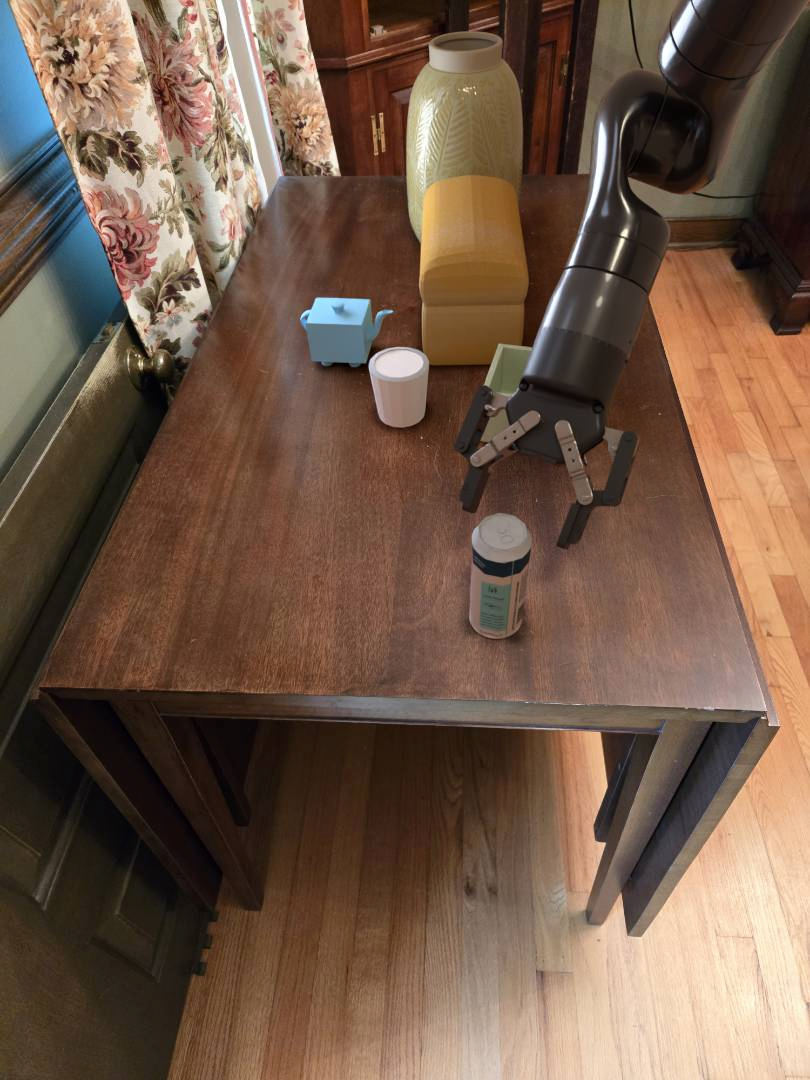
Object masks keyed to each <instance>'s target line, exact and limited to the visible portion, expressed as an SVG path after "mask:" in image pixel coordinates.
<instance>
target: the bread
mask: <svg viewBox="0 0 810 1080" xmlns="http://www.w3.org/2000/svg"><path fill="white" fill-rule="evenodd" d="M529 277H530V276H529V271H528V264H527V256H526V250H525V243H524V236H523V230H522V222H521V217H520V208H519V209H518V203H517V196H516V192H515V189H514V188H513V186H512V185H511V184H510V183H509V182H507V181H506V180H503V179H500V178H495V177H487V176H480V175H466V176H458V177H453V178H448V179H444V180H440V181H438V182H435V183H434V184H432V185H431V186H430V187H429V188H428V190H427V191H426V193H425V196H424V201H423V219H422V239H421V244H420V263H419V281H418V282H419V283H418V287H419V295H420V298H421V301H422V303H421V305H422V306H421V341H422V353H423V354H425V355H426V356H427V358H428V361H429V366H480V365H481V366H482V365H483V366H484V365H491V364H492V361H493V358H494V356H495V353H496V350H497V348H498V345H499V343H500V344H508V345H516V346H523V338H524V326H525V300H526V297H527V294H528V290H529V285H530V283H529V282H530V281H529Z"/></svg>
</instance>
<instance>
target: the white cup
mask: <svg viewBox="0 0 810 1080" xmlns="http://www.w3.org/2000/svg"><path fill="white" fill-rule="evenodd" d="M429 368H430V365H429V361H428V358H427V356H426V355H425V354H424V353H423V351H421V350H419V349H417V348H413V347H410V346H395V347H388V348H385V349H382V350H380V351H378V352H377V353H375V354H374V355H373V356H372V357H371V358H370V360H369V362H368V370H369V376H370V380H371V385H372V391H373V394H374V399H375V404H376V405H375V406H376V410H377V415H378V417H379V420H380V421H381V422H382V423H384V424H385V425H387V426H389V427H392V428H407V427H412V426H414V425H416V424H419V423H420V422H421V421H422V419H424V417H425V413H426V404H427V396H428V395H427V393H428V381H429Z"/></svg>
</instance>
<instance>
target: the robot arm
mask: <svg viewBox="0 0 810 1080" xmlns="http://www.w3.org/2000/svg"><path fill="white" fill-rule="evenodd" d="M809 2H810V0H677V2H676V3H675V5H674V8H673V10H672V12H671V14H670V16H669V18H668V19H667V22H666V23H665V26H664V28H663V31H662V33H661V35H660V39H659V42H658V47H657V64H658V69H659V71H660V73H659V72H656V71H654V70H651V69H647V68H640V67H639V68H632V69H629V70H627V71H625V72H624V73H621V74H620V75H619V76H618V77H617V78H616V79H614V80H613V81H612V82H611V84H610V85H609V86H608V87H607V89H606V90H605V92H604V93H603V95H602V97H601V99H600V101H599V103H598V106H597V109H596V112H595V115H594V116H595V117H594V119H593V120H594V121H593V126H592V134H591V143H590V145H591V146H590V158H589V159H590V160H589V172H588V173H589V175H588V182H587V183H588V184H587V190H586V197H585V203H584V208H583V212H582V216H581V219H580V223H579V227H578V230H577V233H576V235H575V239H574V241H573V244H572V247H571V250H570V252H569V255H568V258H567V260H566V263H565V266H564V269H563V271H562V274H561V276H560V278H559V280H558V282H557V284H556V285H555V288H554V290H553V291H552V293H551V296H550V298H549V301H548V304H547V306H546V309H545V312H544V314H543V316H542V319H541V322H540V325H539V328H538V331H537V333H536V336H535V339H534V342H533V344H532V350H531V353H530V355H529V358H528V361H527V364H526V366H525V369H524V372H523V375H522V377H521V380H520V383H519V386H518V388H517V390H516V391H515V393H514V394H513V395H512V396H511V397H507V396H505V395H502V394H500V393H497V392H495V391H493V390H492V389H491V388H489V387H488V386H486V385H484V384H482V385H480V386H478V388H477V389H476V391H475V394H474V396H473V399H472V401H471V402H470V405H469V408H468V410H467V412H466V415H465V418H464V420H463V422H462V424H461V427H460V430H459V431H458V434H457V436H456V438H455V441H454V444H453V448H454V450H455V452H457V453H458V454H460V455H461V456H462V457H463V458H464V459H465V460H466V461H467V463H468V469H467V473H466V476H465V478H464V481H463V484H462V487H461V490H460V491H459V496H458V497H459V499H458V500H459V502H460V503H462V506H461V510H462V511H464V512H466V513H469V514H476V513H477V511H478V509H479V506H480V503H481V501H482V498H483V495H484V492H485V490H486V487H487V484H488V482H489V479H490V476H491V472H488V471H489V470H490V469H491V468H493V467H494V466H495V465H496V464H498V463H500V462H501V461H503V460H504V459H505V458H508V457H510V456H512V455H514V454H515V453H516V452H518V451H519V453H520V454H522V455H524V456H526V457H530V458H533V459H540V460H541V459H542V460H544V461H545V462H547V463H549V464H551V465H553V466H557V467H559V468H561V467H565V466H566V469H567V473H568V475H569V478H570V480H571V482H572V486H573V489H574V492H575V495H576V497H577V498H576V501H575V502H571V504H570V507H569V510H568V513H567V515H566V517H565V520H564V523H563V525H562V527H561V531H560V533H559V536H558V539H557V541H556V545H555V546H556V548H560V549H563V550H569V549H570V546H571V545H576V546H577V545H578V544H579V542H580V541H581V540H582V537H583V535H584V532H585V530H586V527H587V524H588V522H589V520H590V516H591V514H592V512H593V510H595V509H596V508H599V507H613V508H615V507H619V506H620V505H621V503H622V501H623V498H624V495H625V492H626V488H627V485H628V482H629V479H630V476H631V472H632V469H633V467H634V463H635V460H636V458H637V455H638V451H639V449H640V444H641V439H640V437H639V435H638V434H637V433H636V432H635V431H634V430H631V429H629V430H628V429H627V430H620V429H615V428H611V427H608V425H607V418H608V414H609V412H610V409H611V406H612V405H613V404H612V403H613V401H614V398H615V395H616V393H617V390H618V388H619V385H620V382H621V380H622V377H623V374H624V372H625V369H626V368H627V364H628V362H629V359H630V357H631V355H632V354H633V352H634V349H635V347H636V344H637V338H638V335H639V333H640V330H641V326H642V324H643V319H644V316H645V315H644V314H645V310H646V307H647V303H648V300H649V297H650V294H651V292H652V290H653V287H654V284H655V281H656V279H657V276H658V274H659V271H660V269H661V266H662V264H663V261H664V258H665V255H666V252H667V250H668V247H669V244H670V240H671V233H672V232H671V226H670V224H669V223H668V221H667V219H666V218H665V217H664V216H663V215H662V214H661V213H659V212H658V211H657V210H656V209H654V208H653V207H652V206H650V205H649V204H648V203H646V202H645V201H644V200H642V199H641V198H639V197H638V195H636V193H635V192H634V191H633V189H632V188H631V185H630V181H629V179H632V180H635V181H637V182H640V183H643V184H646V185H648V186H651V187H653V188H656V189H659V190H662V191H665V192H667V193H670V194H674V195H681V196H686V195H690V194H693V193H697V192H699V191H700V190H702V189H704V188H705V187H707V186H708V185H710V183H712V182H713V181H714V180H715V178H716V177H717V176H718V174H719V173H720V172H721V170H722V169H723V166H724V165H725V162H726V160H727V157H728V154H729V153H730V150H731V147H732V144H733V141H734V137H735V134H736V130H737V127H738V123H739V120H740V116H741V113H742V111H743V108H744V106H745V104H746V101H747V99H748V97H749V95H750V93H751V91H752V88H753V87H754V85H755V83H756V81H757V79H758V78H759V76H760V74H761V73H762V71H763V69H764V67H766V65H767V63H768V62H769V61H770V60H771V58H772V56H773V55H774V54H775V52H776V51H777V50H778V48H779V46H780V45H781V44H782V42H783V41H784V40H785V38H786V37H787V35H788V33H789V32H790V31H791V29H792V28H793V26H794V25H795V24H796V23H797V21H798V19H799V18H800V17H801V15H802V13H803V12H804V10H805V9H806V7H807V5H808V4H809ZM503 409H505V411H506V415H507V418H508V422H509V426H510V427H508V428H507V429H505V430H504V431H503V432H501V433H500V434H498V435H497V436H495V437H494V438H493V439H492V440H491V441H490V442H487V443H486V444H485V445H484V446H483V447H481V448H479V445H480V442H481V441H480V440H481V438H482V436H483V433H484V431H485V429H486V426H487V424H488V422H489V419H490V417H496V416H497V415H498V413H499V412H500V411H501V410H503ZM506 438H507V439H506ZM604 441H606V442H607V443H608V447H607V451H608V453H609V455H610V456H611V457H613V461H612V464H611V467H610V471H609V474H608V477H607V479H606V483H605V486H604V489H596V488H595V485H594V482H593V478H592V472H591V470H590V466H589V463H588V459H587V456H586V454H587V453H589V452H590V451H591V450H593V449H594V448H596V447H598V445H600V444H601V443H602V442H604Z"/></svg>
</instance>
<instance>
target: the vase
mask: <svg viewBox="0 0 810 1080" xmlns="http://www.w3.org/2000/svg"><path fill="white" fill-rule="evenodd" d="M503 42H504V41H503V38H502V37H501V36H499V35H497V34H494V33H491V32H485V31H476V30H475V31H474V30H473V31H471V30H470V31H469V30H468V31H467V30H466V31H454V32H448V33H445V34H441V35H437V36H435V37H434V38H432V39H431V40H430V41H429V44H428V50H429V53H428V54H429V55H428V57H429V61H427V62H426V64H425V65H423V67H422V68H421V70H420V71H419V72H418V75H417V76H416V78H415V80H414V82H413V85H412V90H411V92H410V97H409V101H408V102H409V103H408V112H407V120H406V121H407V122H406V134H405V135H406V137H405V138H406V139H405V182H406V184H405V185H406V186H405V187H406V200H407V211H408V218H409V222H410V226H411V228H412V231H413V233H414V234H415V236H416V238H417V240H418V242H419V243H420V245H421V239H422V219H423V201H424V196H425V193H426V191H427V190H428V188H429V187H430V186H431V185H432V184H434V183H435V182H438V181H440V180H444V179H448V178H453V177H458V176H466V175H480V176H487V177H495V178H500V179H503V180H506V181H507V182H509V183H510V184H511V185H512V186H513V188H514V189H515V192H516V196H517V203H518V209H519V210H520V206H521V195H522V185H523V168H524V167H523V164H524V121H523V118H524V117H523V105H522V97H521V90H520V85H519V83H518V80H517V77H516V75H515V74H514V71H513V70H512V68H511V67H510V65H509V63H508V62H506V61H505V60H504V59H503V57H502V56H503V45H504V44H503Z"/></svg>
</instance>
